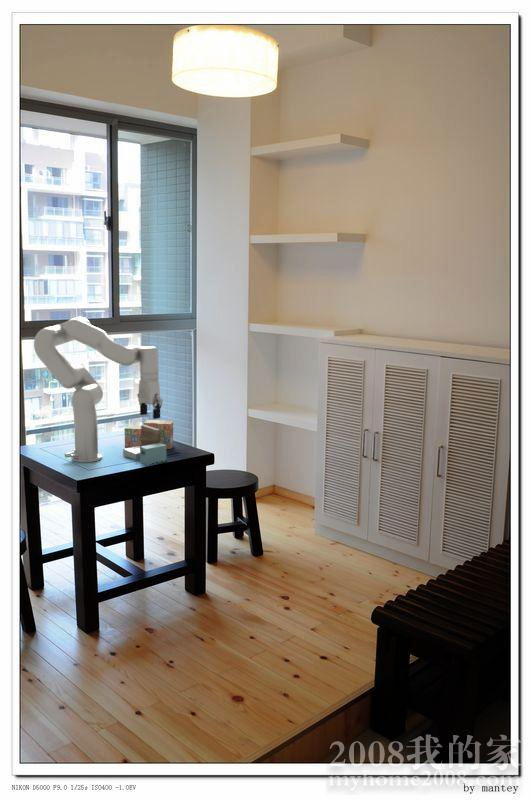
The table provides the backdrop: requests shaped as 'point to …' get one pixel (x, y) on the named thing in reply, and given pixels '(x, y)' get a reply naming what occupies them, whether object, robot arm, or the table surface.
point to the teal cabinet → (152, 453)
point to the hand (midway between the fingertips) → (150, 416)
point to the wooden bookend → (143, 441)
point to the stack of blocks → (165, 426)
